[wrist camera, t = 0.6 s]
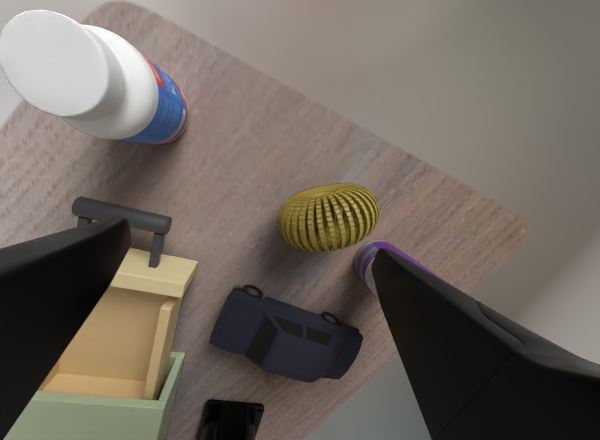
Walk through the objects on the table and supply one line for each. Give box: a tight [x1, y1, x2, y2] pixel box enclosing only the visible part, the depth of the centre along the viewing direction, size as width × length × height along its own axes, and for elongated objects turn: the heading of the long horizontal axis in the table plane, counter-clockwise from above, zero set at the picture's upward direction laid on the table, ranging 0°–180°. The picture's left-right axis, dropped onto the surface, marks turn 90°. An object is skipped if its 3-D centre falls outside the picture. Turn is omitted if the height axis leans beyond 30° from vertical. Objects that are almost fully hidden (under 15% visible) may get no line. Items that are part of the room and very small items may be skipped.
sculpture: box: [277, 183, 379, 252], centre depth 20 cm, size 8×4×8 cm, turn 103°
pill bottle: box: [0, 10, 189, 144], centre depth 15 cm, size 6×5×10 cm
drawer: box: [37, 197, 198, 400], centre depth 20 cm, size 18×11×4 cm, turn 163°
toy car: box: [209, 285, 363, 382], centre depth 24 cm, size 6×15×5 cm, turn 63°
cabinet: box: [3, 351, 185, 440], centre depth 23 cm, size 14×12×6 cm
